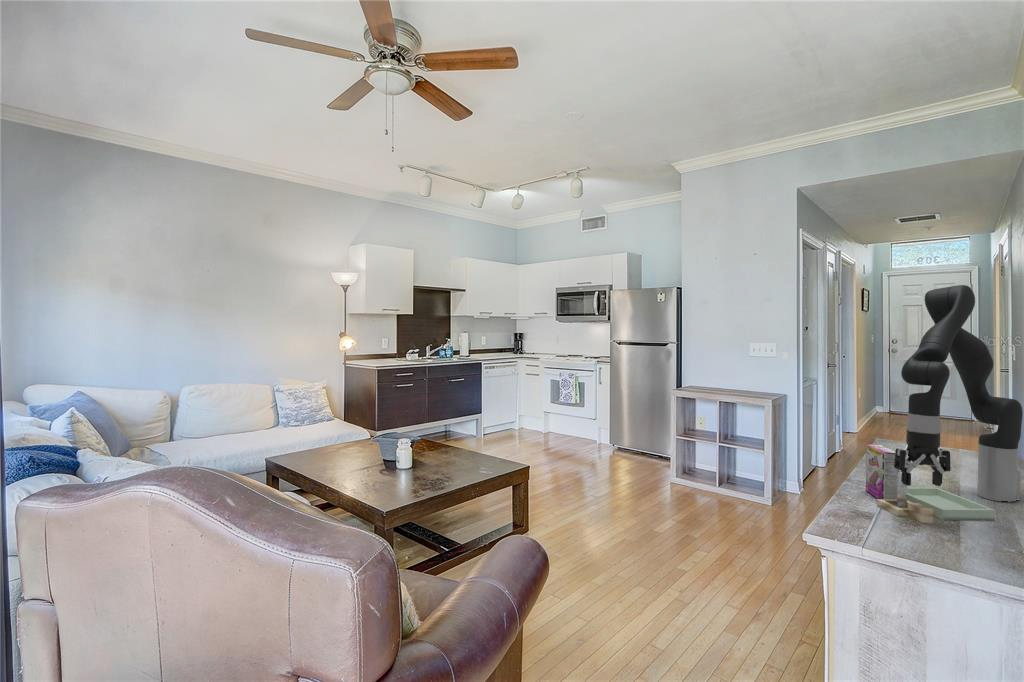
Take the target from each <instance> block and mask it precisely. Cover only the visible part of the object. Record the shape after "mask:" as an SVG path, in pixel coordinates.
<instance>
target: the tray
mask: <svg viewBox="0 0 1024 682" xmlns="http://www.w3.org/2000/svg"><path fill="white" fill-rule="evenodd" d="M907 500H908V501H910V502H912V503H919V504H922V505H924V506H926V507H928V508H931V509H933V517H935V518H937V519H940V520H941V521H996V509H993V508H990V507H988V506H987V505H983V504H981V503H978V502H975V501H972V500H971V499H968V498H966V497H962V496H960V495H957V494H955V493H952V492H949V491H948V490H945V489H942V488H939V487H907Z"/></svg>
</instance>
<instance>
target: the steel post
mask: <svg viewBox="0 0 1024 682" xmlns="http://www.w3.org/2000/svg"><path fill="white" fill-rule="evenodd" d="M901 475H902V472H901V470H899V471H898V481H897V507H899V508H907V488H908V486H907V485H904V484H903V482H902V481H901V479H902V478H901Z"/></svg>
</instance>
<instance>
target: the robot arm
mask: <svg viewBox="0 0 1024 682" xmlns="http://www.w3.org/2000/svg"><path fill="white" fill-rule="evenodd" d="M924 305H925V307H926V310H927V312H928V314H929V316H930V318H931V319H932V321H933V322H934V325H933V326H932V327H930V328H929V329H927V331H926V332H925V333H924V335H923V336H922V338H921V340H920V342H919V346H918V348H917V350H915V352H914V353H913V354H912V355H911V356H910V357H909V358H908V359H907V360H906V361H905V362H904V364H903V366H902V368H901V372H900V376H901V377H902V379H903V381H904V382H905V383H907V384H909V385H916V386H917V385H918V386H928V387H929V386H930V389H929V390H928V391H926V392H916V393H915V392H914V393H912V394H909V396H908V413H907V418H906V436H905V437H906V439H905V440H906V441H905V442H906V445H907V448H906V449H902V448H899V447H898V448H896V449H895V450H894V451H895V462H894V468H896V469H899V471H901V472H902V475H901V478H902V479H901V481H902V482H903V484H904V485H907V487H910V486H911V485H912V473H911V472H912V471H914V470H913V469H915V468H917V467H918V466H924V465H925V466H929V467H930V469H932V475H931V476H932V478H931V479H932V480H931V483H932V485H933V486H936V487H941V486H942V484H943V477H944V476H943V474H944V473H945V472H950V471H951V452H950V451H949V450H946V449H943V448H940V447H941V430H942V429H941V425H942V423H941V401H942V400H941V399H942V396H943V393H944V390H945V387H946V385H947V383H948V381H949V378H950V374H951V370H950V369H949V366H948V365H947V364H946V363H944V362H945V361H946V360H947V359H948V357H949V356H950V358H951V360H952V363H953V365H954V367H955V368H956V371H957V373H958V375H959V377H960V380H961V383H962V384H963V387H964V390H965V392H966V397H967V399H968V404H969V407H970V409H971V410H970V411H971V413H972V415H973V417H974V418H975V419H976V420H977V421H978V422H980V423H983V424H989V425H992V426H993V425H994V426H997V430H996V432H993V433H985V434H981V435H979V437H978V449H977V450H978V451H977V452H978V455H977V456H978V457H977V485H976V486H977V490H976V494H977V496H978V497H981V498H984V499H987V500H991V501H996V502H1001V501H1008V502H1007V503H1010V502H1009V501H1015V500H1017V499H1020V500H1021V471H1019V470H1018V466H1019V465H1018V463H1019V462H1018V458H1019V457H1018V456H1019V453H1018V452H1019V442H1020V440H1021V435H1022V423H1023V416H1024V415H1023V413H1024V412H1023V407H1022V404H1021V403H1020V402H1019V400H1017V399H1015V398H1010V397H1002V396H1001V397H999V396H992V395H990V393H989V391H988V389H987V386H986V384H987V380H988V378H989V376H990V375H991V373H992V371H993V368H994V360H993V356H992V355H991V353H990V350H989V347H988V346H987V344H986V343H985V342H984V341H983V340H981V339H980V338H979V337H977V336H975V335H974V334H973V333H971V332H970V331H968V330H966V329H965V328H962V327H964V325H965V323H966V321H967V320H968V318H969V317H970V316H971V314H972V312H973V310H974V309H975V305H976V297H975V293H974V291H973V289H972V288H971V287H970V286H968V285H966V284H965V285H964V284H960V285H959V284H958V285H953V286H947V287H946V286H945V287H940V288H933V289H931V290H927V292H926V293H925V295H924ZM937 458H938V459H937Z"/></svg>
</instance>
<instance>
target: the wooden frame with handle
mask: <svg viewBox="0 0 1024 682" xmlns="http://www.w3.org/2000/svg"><path fill="white" fill-rule="evenodd" d="M875 499H876V505H877V507H878V506H879V507H878V508H880V507H881V509H883V510H884V511H886V512H889V513H890V514H893V515H894V516H896V517H901V518H902V517H908V518H911V519H913V520H914V521H917V522H918V523H921V524H934V516H933V509H931V508H928V507H926V506H924V505H922V504H919V503H912V502H910V501H908V500H907V508H899V507H897V499H877V498H875Z"/></svg>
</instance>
